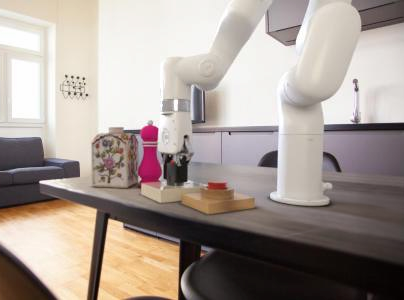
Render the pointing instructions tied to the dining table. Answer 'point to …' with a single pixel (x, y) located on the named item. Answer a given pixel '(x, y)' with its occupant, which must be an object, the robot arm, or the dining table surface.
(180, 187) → the panel
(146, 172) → the pepper mill
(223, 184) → the button
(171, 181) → the dark grey block
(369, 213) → the dining table surface
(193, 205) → the button block
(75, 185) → the dining table surface
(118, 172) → the decorative jar
